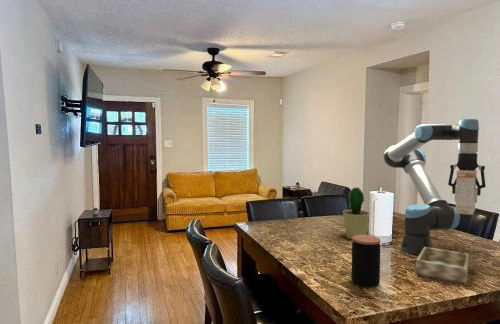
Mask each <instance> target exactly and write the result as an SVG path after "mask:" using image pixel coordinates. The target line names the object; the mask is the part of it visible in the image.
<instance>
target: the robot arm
mask: <svg viewBox="0 0 500 324" xmlns="http://www.w3.org/2000/svg"><path fill="white" fill-rule="evenodd" d="M479 130H480V126H479V120H478V119H476V118H465V119H460V120H459V122H458V123H457V124H455V123H454V124H432V123H431V124H430V123H429V124H428V123H424V124H419V125H417V126H416V127H415V128H414V132H413V133H412V134H410V135H408V136H407V137H406V138H405V139H403V140H402V141H400V142H398V143H397V144H395V145H391V146H390V147H388V148H387V149H386V150H385V151H384V152H383V161H384V163H385V164H386V165H387V166H388V167H391V168H395V169H396V168H398V169H403V170H404V172H405V173H406V174H408V175H409V177H410V178H411V181H412V182H413V184H414V186H415V188H416V190H417V192H418V194H419V196H420V197H421V200H422V201H423V203H424V204H423V203H421V204H420V203H415V204H410V205H407V206H406V207H405V210H404V234H403V237H402V240H401V242H400V251H402V252H404V253H408V254H412V255H417V256H419V255H420V253H421V251H422V250H423V248H424V247H429V248H434V246H433V244H432V243H433V242H432V241H431V237H430V236H431V233H430V232H431V231H444V230H446V231H449V230H454V229H456V228H457V227H458V226H459V224H460V220H461V214H459V213H455V210H456V206H452V205H451V206H450V205H449V204H450V203H448V201H447V200H446V199H443V198H442V197H441V195H440V193H439V192H438V190H437V189H436V186H435V185H434V183H433V182H432V180H431V178H430V177H429V174H428V172H427V170H426V169H425V166H426V161H427V159H426V155H425V152H424V151H423V150H422V149H420V147H422V146H424V145H425V144H427V143H429V142H430V141H456V140H457V141H458V145H457V146H458V147H457V149H458V152H459V153H458V154H457V162H456V164H449V165H450V166H449V167H450V173H449V177H448V183H447V185H448V186H450V187H452V192H451V193H452V195H454V202H456V182H457V177H455V180H454V181H453V177H454V173H455V172H454V171H455V169H456V168H458V170H470V171H474V170H475V169H478V170H479V171H480V180H481V184H480V182H479V180H478V177H477V176H476V179H475V183H476V190H475V204H478V197H479V196H481V191H482V190H481V189H484V188H486V187H487V186H486V180H485V179H486V178H485V177H486V176H485V169H486V166H485V165H480V164H478V151H479V150H478V149H479V147H478V146H479ZM452 182H453V183H452Z"/></svg>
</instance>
